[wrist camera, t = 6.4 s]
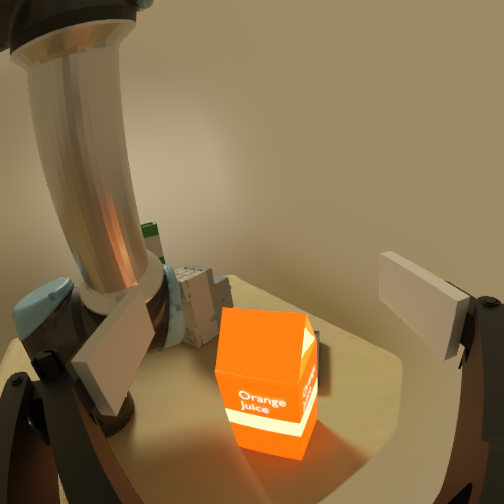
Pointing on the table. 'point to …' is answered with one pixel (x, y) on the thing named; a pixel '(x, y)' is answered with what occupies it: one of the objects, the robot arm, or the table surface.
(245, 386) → the juice carton
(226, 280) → the circuit breaker
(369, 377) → the table surface
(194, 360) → the table surface
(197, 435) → the table surface
